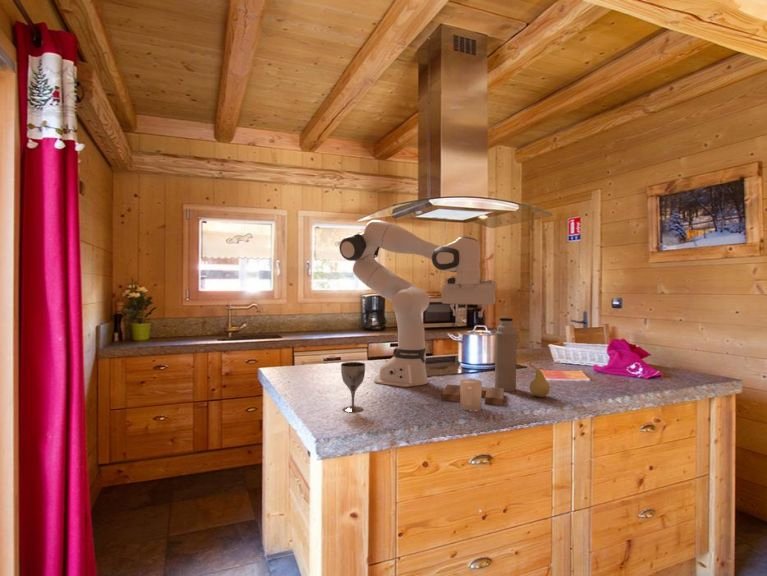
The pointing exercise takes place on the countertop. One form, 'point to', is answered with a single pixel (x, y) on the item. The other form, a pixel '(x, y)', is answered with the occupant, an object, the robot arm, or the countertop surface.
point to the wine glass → (353, 381)
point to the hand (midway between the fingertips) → (467, 316)
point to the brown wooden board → (490, 394)
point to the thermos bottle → (505, 355)
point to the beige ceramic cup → (470, 394)
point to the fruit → (539, 384)
